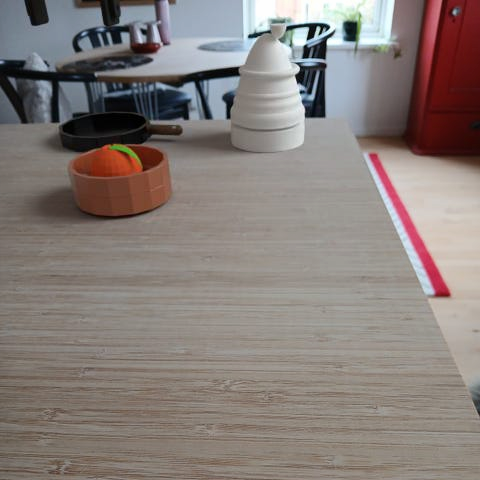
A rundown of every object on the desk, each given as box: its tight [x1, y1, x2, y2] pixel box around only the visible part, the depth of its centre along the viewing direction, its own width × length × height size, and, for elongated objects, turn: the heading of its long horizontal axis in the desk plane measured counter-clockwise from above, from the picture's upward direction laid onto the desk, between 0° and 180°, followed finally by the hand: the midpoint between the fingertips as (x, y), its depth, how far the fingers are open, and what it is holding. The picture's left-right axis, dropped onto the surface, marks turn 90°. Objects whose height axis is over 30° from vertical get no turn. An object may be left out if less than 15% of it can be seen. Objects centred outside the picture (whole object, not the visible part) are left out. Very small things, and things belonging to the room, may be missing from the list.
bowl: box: [66, 144, 173, 217], centre depth 71 cm, size 13×13×6 cm
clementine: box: [91, 144, 143, 177], centre depth 70 cm, size 8×7×7 cm
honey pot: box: [229, 22, 306, 153], centre depth 85 cm, size 13×13×18 cm
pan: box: [58, 111, 184, 153], centre depth 94 cm, size 23×16×3 cm
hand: (75, 24), depth 63 cm, fingers open, 9 cm apart
